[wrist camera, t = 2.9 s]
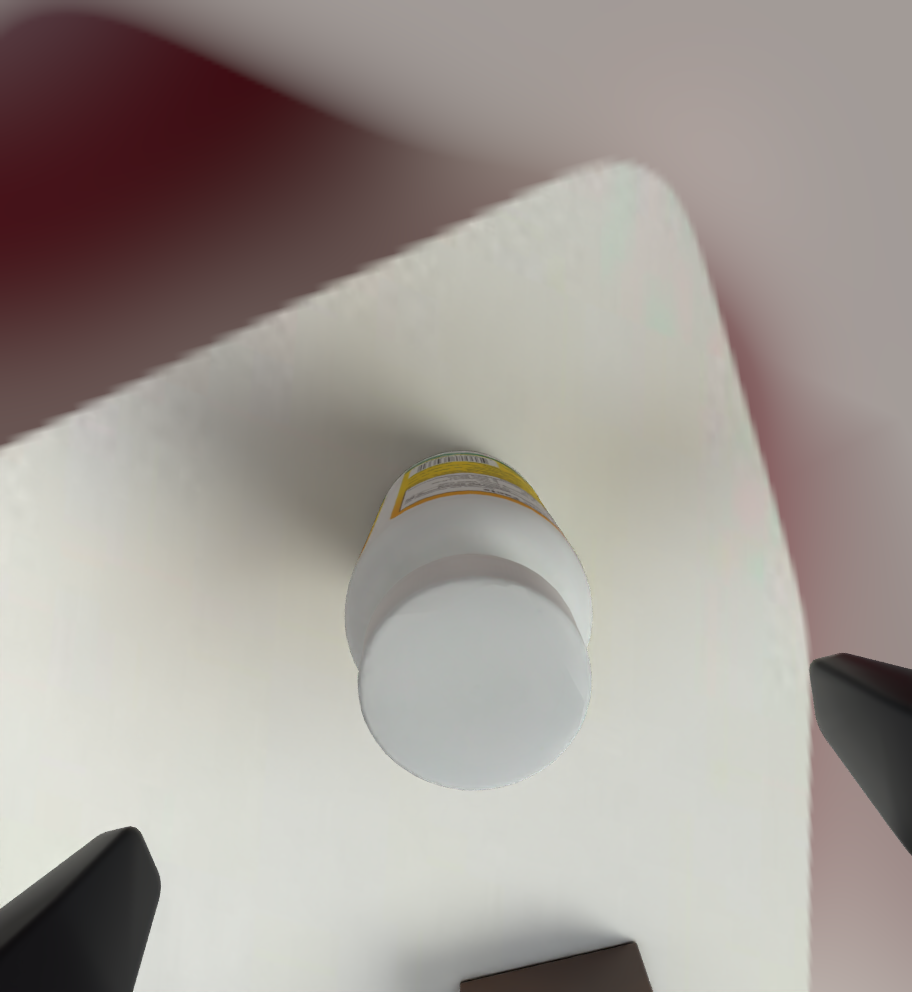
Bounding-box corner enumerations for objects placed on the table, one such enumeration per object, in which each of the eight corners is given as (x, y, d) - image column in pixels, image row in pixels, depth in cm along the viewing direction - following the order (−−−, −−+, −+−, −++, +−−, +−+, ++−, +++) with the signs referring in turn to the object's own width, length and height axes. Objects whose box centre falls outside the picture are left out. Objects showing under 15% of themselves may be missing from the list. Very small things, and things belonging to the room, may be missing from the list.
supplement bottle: (455, 413, 19) (470, 463, 9) (577, 525, 20) (703, 675, 10) (342, 537, 19) (250, 700, 10) (463, 640, 20) (484, 878, 11)
